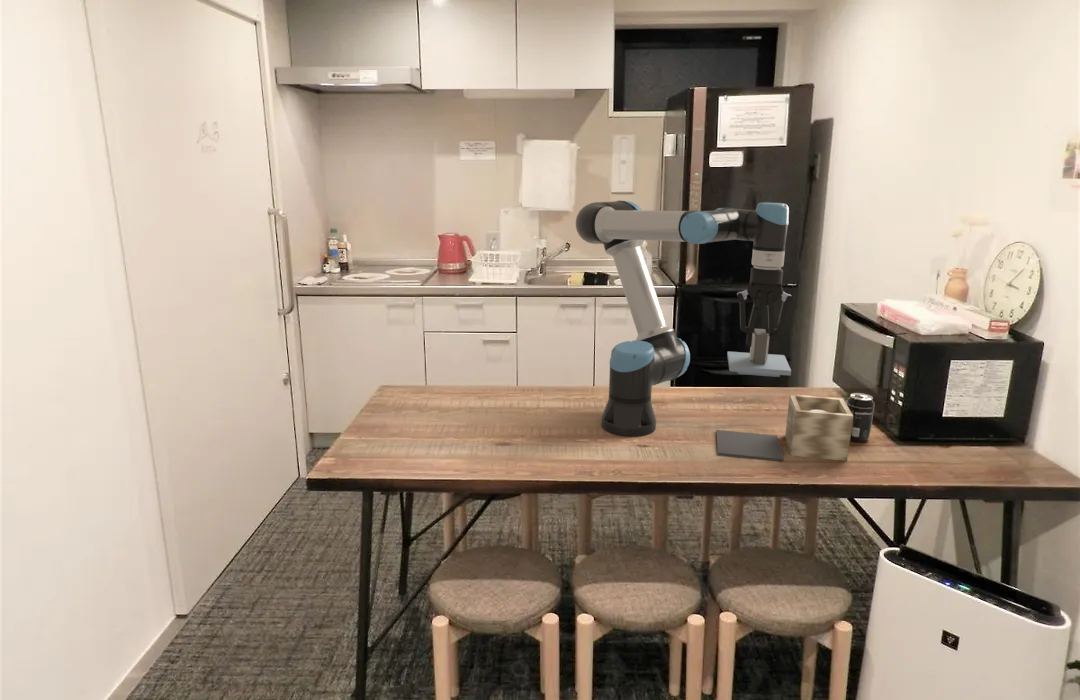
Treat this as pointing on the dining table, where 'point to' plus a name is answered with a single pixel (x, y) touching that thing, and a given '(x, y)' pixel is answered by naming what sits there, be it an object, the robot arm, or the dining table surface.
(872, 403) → the beverage can
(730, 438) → the mat
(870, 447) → the dining table surface
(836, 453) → the box
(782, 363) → the lid
